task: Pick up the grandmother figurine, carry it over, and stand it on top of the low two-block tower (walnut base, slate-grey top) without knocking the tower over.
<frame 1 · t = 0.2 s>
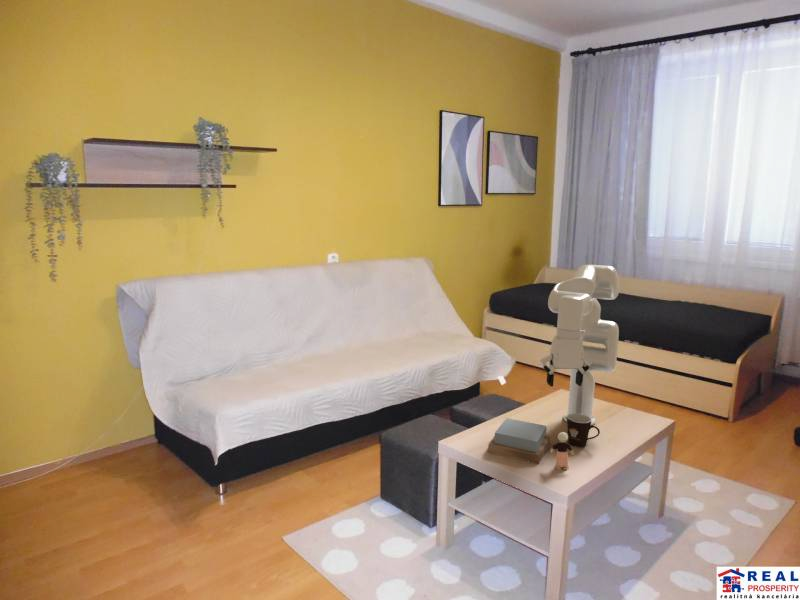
hand: (564, 384, 181), 29 cm above the table, tool pointing down, fingers open, 9 cm apart
grandmother figurine: (560, 468, 187), on the table
tower base block: (519, 449, 201), on the table
coffee mug: (579, 445, 204), on the table
tower top block: (520, 439, 200), point 3 cm above the table
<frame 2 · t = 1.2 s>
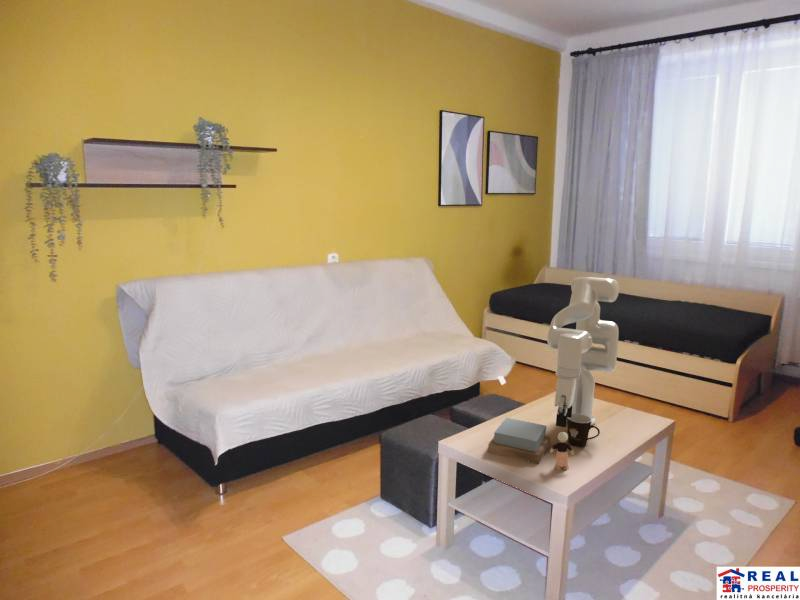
hand: (563, 421, 183), 17 cm above the table, tool pointing down, fingers open, 9 cm apart
tower base block: (519, 449, 201), on the table, touching tower top block
tower top block: (520, 439, 200), point 3 cm above the table, touching tower base block
everything else where it was.
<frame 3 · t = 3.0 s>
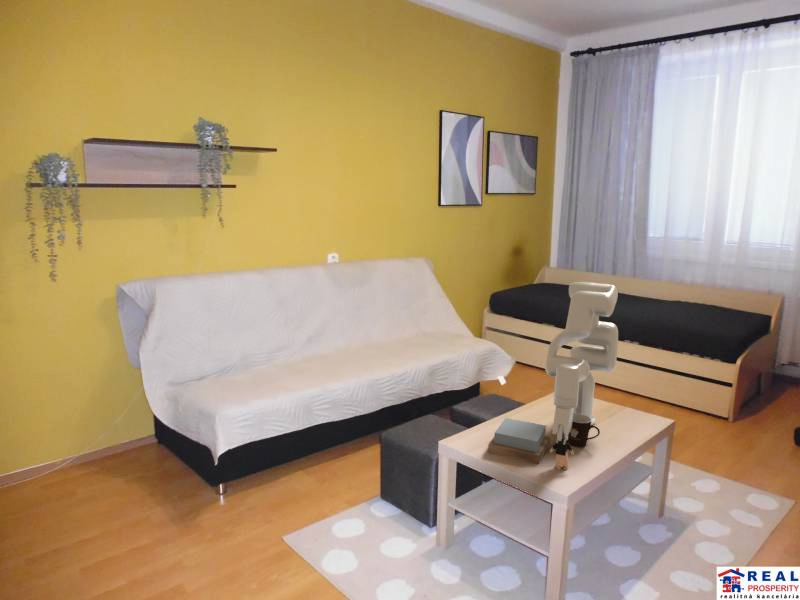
hand: (561, 451, 186), 6 cm above the table, tool pointing down, fingers closed on grandmother figurine, 2 cm apart
grandmother figurine: (560, 468, 187), on the table, touching gripper
everything else where it was.
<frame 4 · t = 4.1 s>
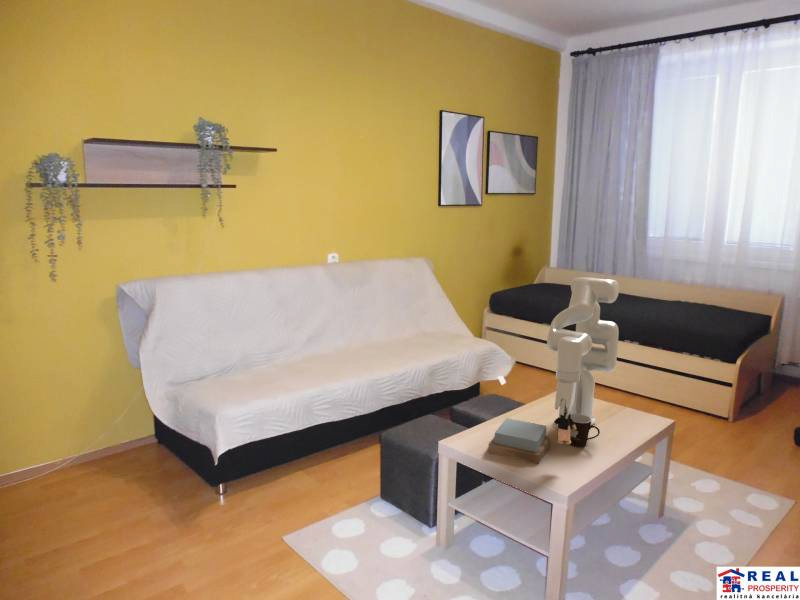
hand: (563, 426, 185), 15 cm above the table, tool pointing down, fingers closed on grandmother figurine, 2 cm apart
grandmother figurine: (562, 442, 186), point 9 cm above the table, touching gripper
everything else where it was.
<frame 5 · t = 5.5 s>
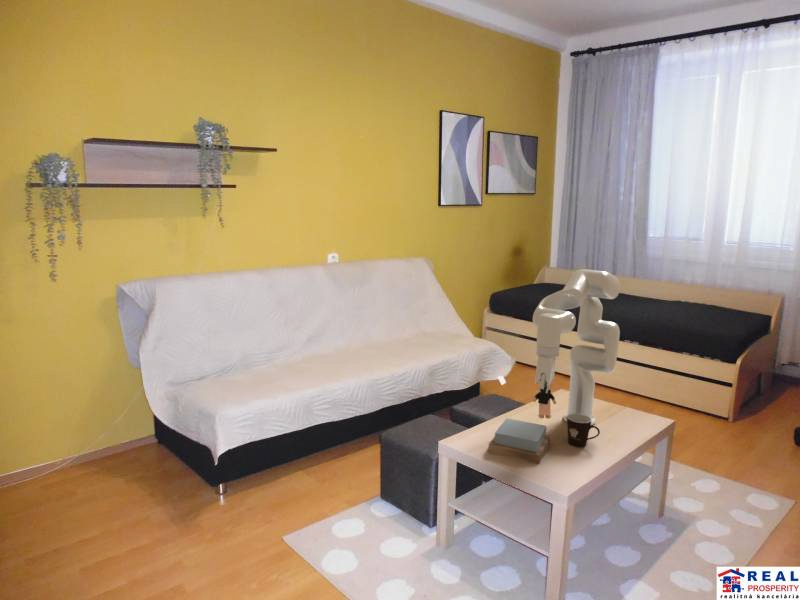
hand: (544, 401, 190), 21 cm above the table, tool pointing down, fingers closed on grandmother figurine, 2 cm apart
grandmother figurine: (543, 417, 191), point 15 cm above the table, touching gripper
everything else where it was.
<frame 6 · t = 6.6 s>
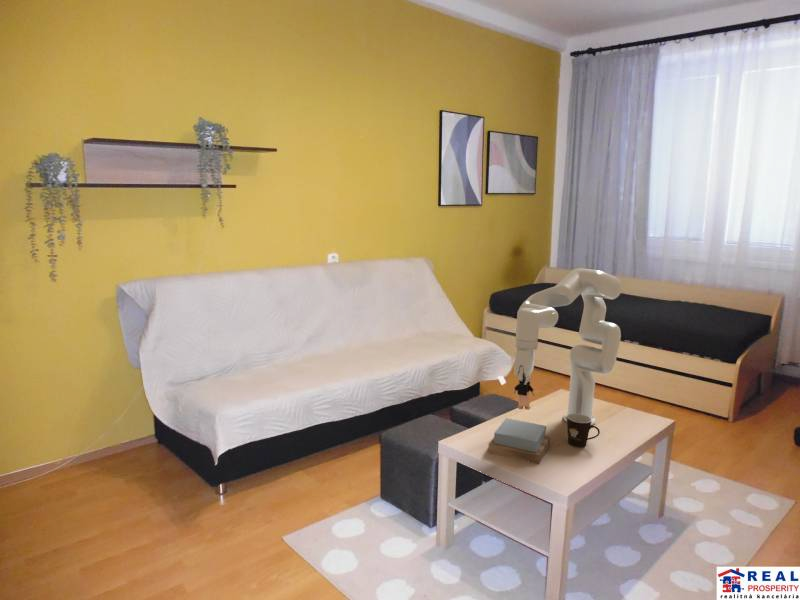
hand: (523, 392, 197), 21 cm above the table, tool pointing down, fingers closed on grandmother figurine, 2 cm apart
grandmother figurine: (522, 408, 198), point 15 cm above the table, touching gripper
everything else where it was.
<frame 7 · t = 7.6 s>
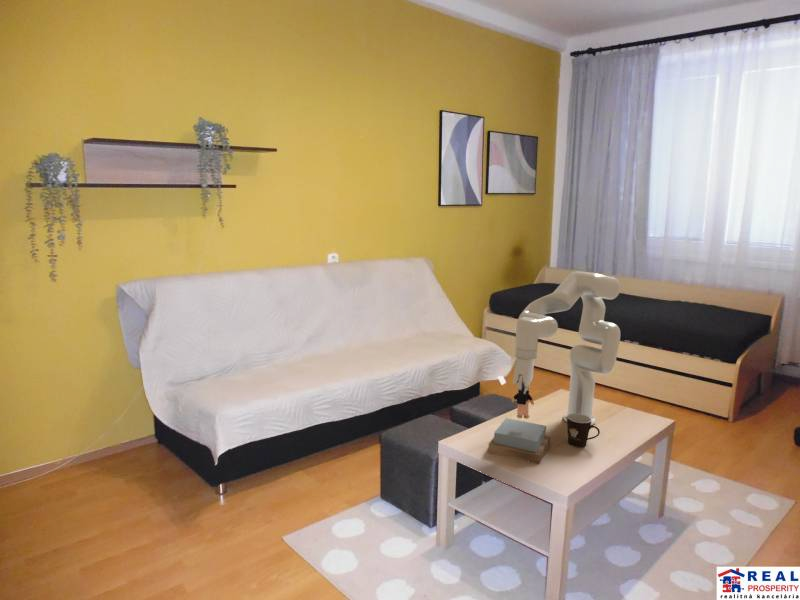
hand: (522, 401, 197), 18 cm above the table, tool pointing down, fingers closed on grandmother figurine, 2 cm apart
grandmother figurine: (521, 417, 199), point 12 cm above the table, touching gripper
everything else where it was.
when the fingers open (14 cm above the table, at t = 8.5 s): grandmother figurine drops 1 cm, resting on tower top block.
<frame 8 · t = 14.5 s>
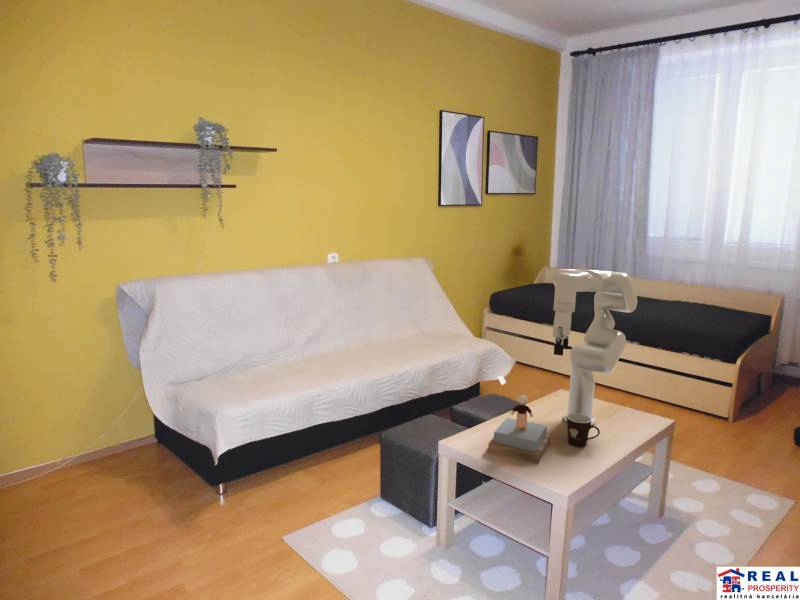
hand: (560, 351, 206), 33 cm above the table, tool pointing down, fingers open, 9 cm apart
grandmother figurine: (520, 429, 200), point 7 cm above the table, touching tower top block
tower top block: (520, 439, 200), point 3 cm above the table, touching grandmother figurine, tower base block
everything else where it was.
at the end: grandmother figurine inside the target area on the tower top block (0.3 cm from its centre), point 3.8 cm above the tower top block's base; grandmother figurine tilted 1°; tower top block moved 0.7 cm from its start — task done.
